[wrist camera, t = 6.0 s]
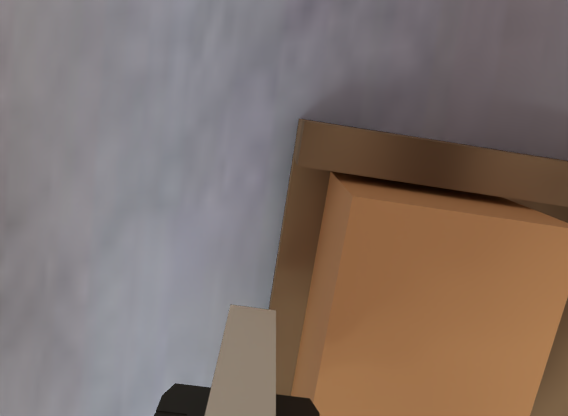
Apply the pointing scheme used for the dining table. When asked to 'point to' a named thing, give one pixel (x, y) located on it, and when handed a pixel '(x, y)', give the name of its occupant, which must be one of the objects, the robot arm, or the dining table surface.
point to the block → (429, 302)
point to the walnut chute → (410, 169)
